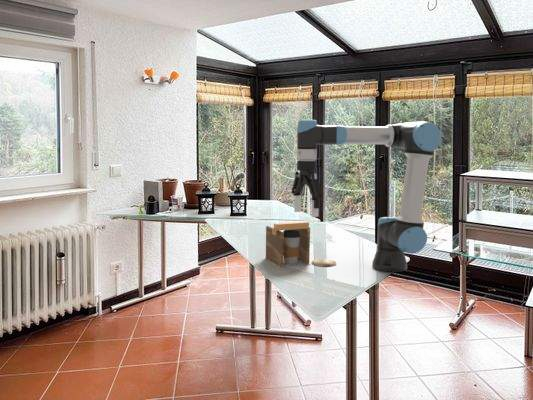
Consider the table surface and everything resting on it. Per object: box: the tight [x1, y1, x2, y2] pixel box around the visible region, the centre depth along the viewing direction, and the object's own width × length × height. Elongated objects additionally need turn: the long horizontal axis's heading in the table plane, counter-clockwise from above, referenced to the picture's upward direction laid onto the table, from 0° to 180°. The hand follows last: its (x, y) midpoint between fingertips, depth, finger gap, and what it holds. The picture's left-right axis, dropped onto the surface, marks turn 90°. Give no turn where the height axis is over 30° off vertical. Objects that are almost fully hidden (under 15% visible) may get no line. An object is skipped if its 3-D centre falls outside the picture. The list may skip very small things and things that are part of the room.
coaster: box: [311, 258, 337, 268], centre depth 232 cm, size 11×11×1 cm
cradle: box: [265, 225, 311, 268], centre depth 235 cm, size 14×17×16 cm
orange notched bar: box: [272, 221, 311, 235], centre depth 230 cm, size 18×3×5 cm, turn 113°
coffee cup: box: [282, 230, 300, 266], centre depth 231 cm, size 8×8×15 cm
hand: (306, 214), depth 198 cm, fingers open, 13 cm apart
